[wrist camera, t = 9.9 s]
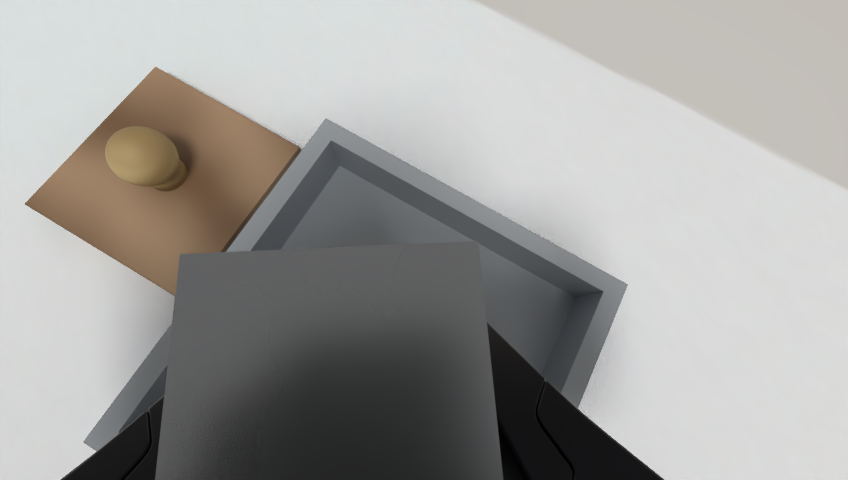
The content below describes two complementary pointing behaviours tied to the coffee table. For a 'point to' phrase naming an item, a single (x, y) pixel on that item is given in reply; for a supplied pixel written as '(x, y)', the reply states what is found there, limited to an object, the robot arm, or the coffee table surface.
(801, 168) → the coffee table surface
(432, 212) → the bin
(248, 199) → the stud mount
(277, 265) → the strut
